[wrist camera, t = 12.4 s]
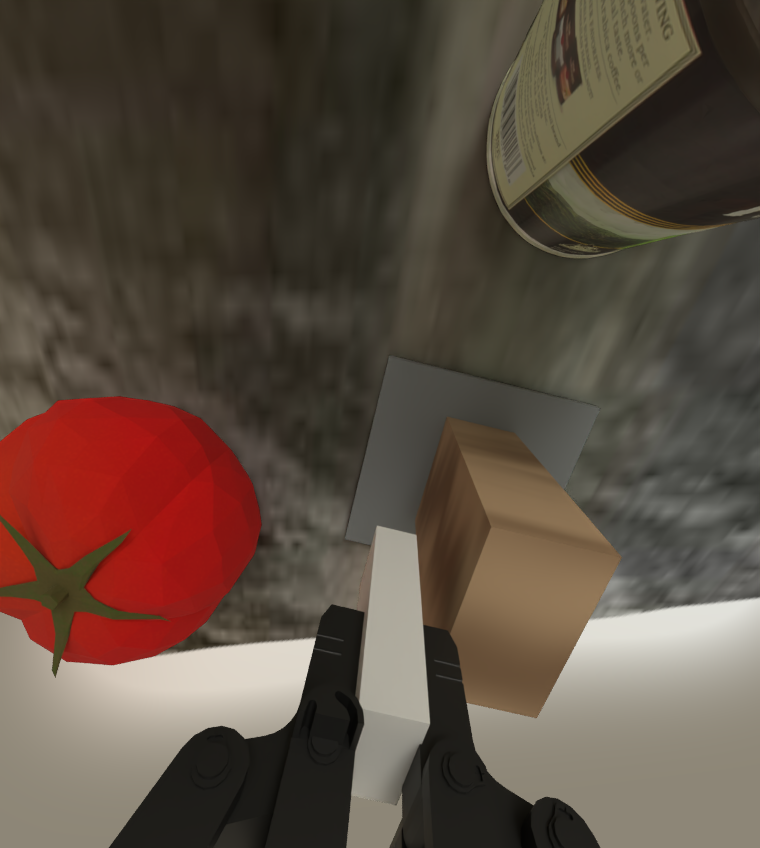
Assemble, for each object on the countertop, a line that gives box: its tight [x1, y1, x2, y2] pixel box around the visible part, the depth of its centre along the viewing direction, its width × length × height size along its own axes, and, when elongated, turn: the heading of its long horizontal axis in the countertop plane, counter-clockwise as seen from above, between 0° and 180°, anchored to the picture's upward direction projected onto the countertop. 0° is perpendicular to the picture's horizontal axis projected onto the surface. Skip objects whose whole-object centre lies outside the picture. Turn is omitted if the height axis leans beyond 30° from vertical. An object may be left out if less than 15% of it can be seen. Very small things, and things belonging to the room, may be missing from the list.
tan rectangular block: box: [415, 417, 622, 718], centre depth 18 cm, size 7×4×11 cm, turn 167°
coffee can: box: [487, 0, 760, 258], centre depth 11 cm, size 10×10×14 cm
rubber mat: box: [345, 355, 601, 545], centre depth 23 cm, size 12×12×1 cm
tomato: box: [0, 396, 262, 677], centre depth 19 cm, size 13×12×11 cm
